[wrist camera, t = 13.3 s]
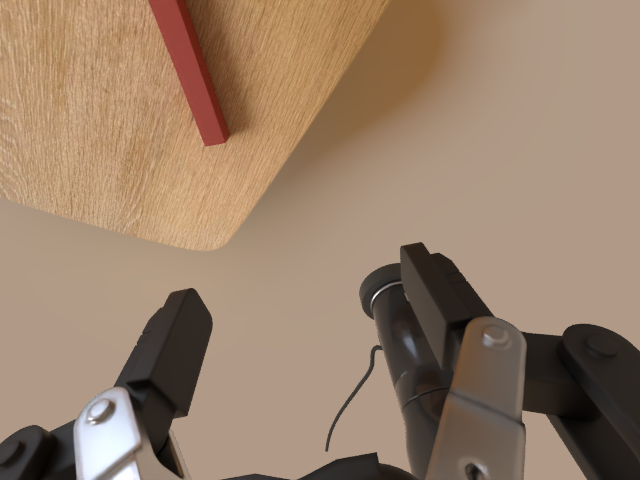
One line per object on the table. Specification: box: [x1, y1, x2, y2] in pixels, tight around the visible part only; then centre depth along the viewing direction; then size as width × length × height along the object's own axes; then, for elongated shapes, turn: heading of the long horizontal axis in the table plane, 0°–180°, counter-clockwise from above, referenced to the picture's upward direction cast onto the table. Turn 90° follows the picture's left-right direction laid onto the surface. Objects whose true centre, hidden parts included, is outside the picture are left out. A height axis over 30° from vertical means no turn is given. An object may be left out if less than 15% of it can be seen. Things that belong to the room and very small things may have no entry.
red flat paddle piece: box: [149, 0, 230, 146], centre depth 25 cm, size 19×6×3 cm, turn 9°
